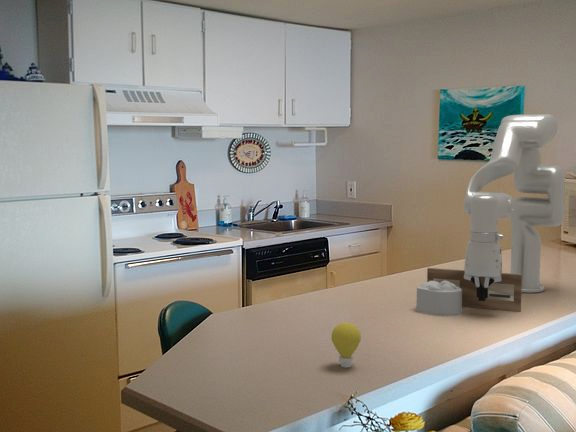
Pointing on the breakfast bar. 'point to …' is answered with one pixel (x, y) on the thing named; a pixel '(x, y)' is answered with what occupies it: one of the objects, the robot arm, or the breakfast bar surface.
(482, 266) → the robot arm
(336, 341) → the light bulb
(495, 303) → the wooden panel
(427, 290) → the lumpy-topped squat cylinder
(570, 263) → the breakfast bar surface
